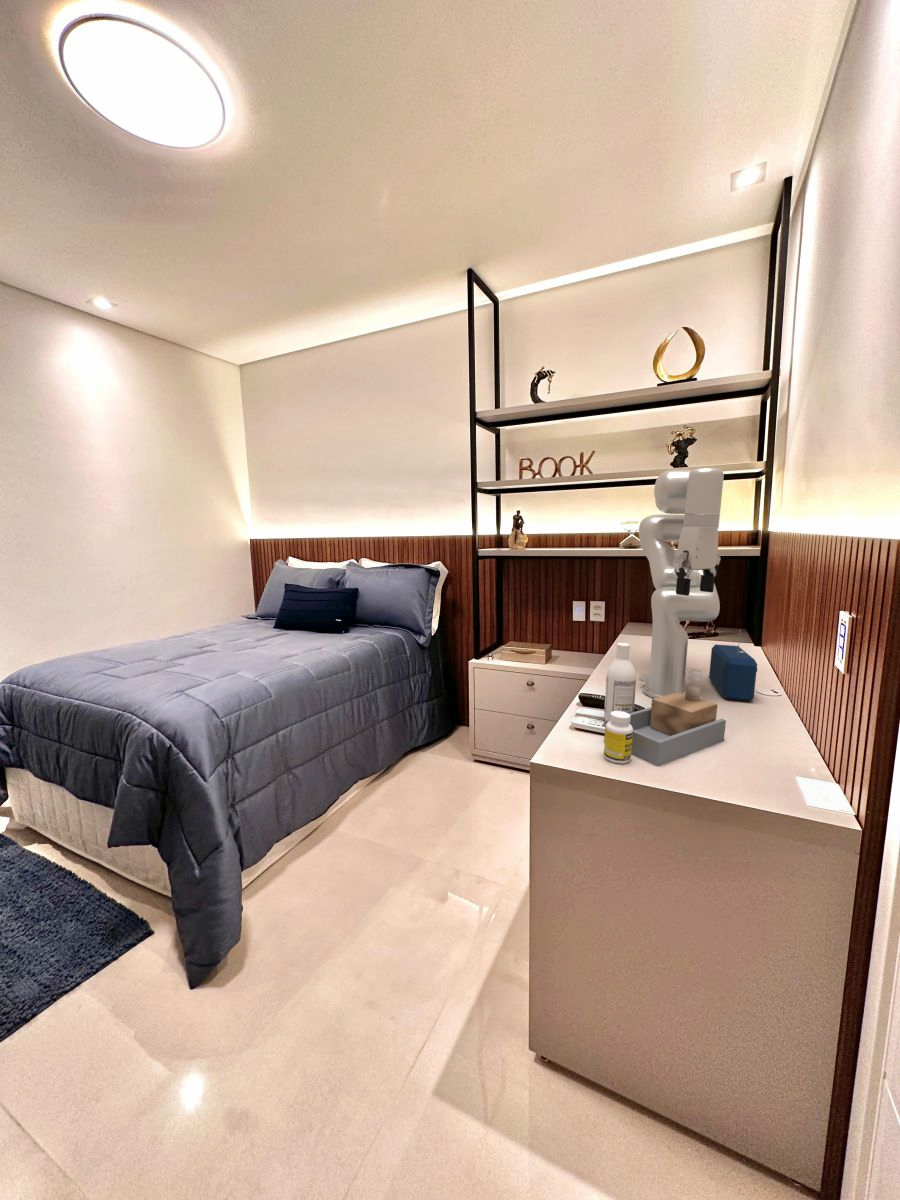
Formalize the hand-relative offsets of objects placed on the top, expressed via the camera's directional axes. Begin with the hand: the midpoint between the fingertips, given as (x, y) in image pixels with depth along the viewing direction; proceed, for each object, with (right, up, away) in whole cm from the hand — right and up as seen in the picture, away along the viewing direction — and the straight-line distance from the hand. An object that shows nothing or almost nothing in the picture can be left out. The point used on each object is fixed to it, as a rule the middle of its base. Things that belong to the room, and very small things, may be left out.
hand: (694, 593), depth 122 cm
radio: (+25, -29, +29) cm, 48 cm away
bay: (-10, -34, -7) cm, 36 cm away
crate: (-5, -32, -4) cm, 33 cm away
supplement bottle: (-24, -35, -16) cm, 46 cm away
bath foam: (-17, -32, +4) cm, 37 cm away
